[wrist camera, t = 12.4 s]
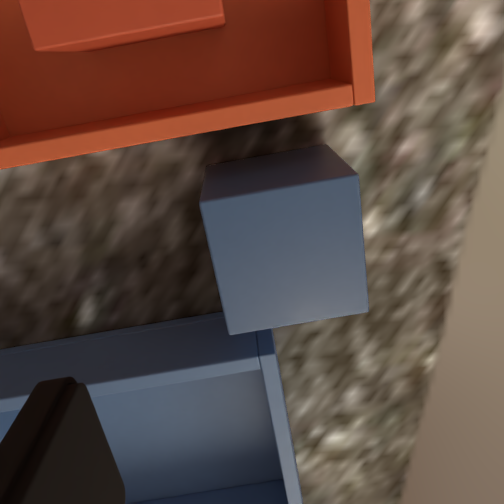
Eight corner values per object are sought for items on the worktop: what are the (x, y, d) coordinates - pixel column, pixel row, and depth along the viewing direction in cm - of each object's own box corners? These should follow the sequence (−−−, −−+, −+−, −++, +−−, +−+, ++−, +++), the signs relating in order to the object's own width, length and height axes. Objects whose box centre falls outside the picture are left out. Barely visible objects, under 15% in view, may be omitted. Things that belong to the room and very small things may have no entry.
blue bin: (63, 513, 24) (37, 586, 20) (-16, 351, 20) (-64, 410, 16) (298, 475, 23) (309, 543, 20) (267, 303, 19) (275, 353, 16)
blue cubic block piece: (228, 273, 19) (228, 336, 15) (205, 165, 17) (197, 201, 13) (338, 254, 19) (369, 312, 14) (327, 143, 17) (359, 173, 13)
